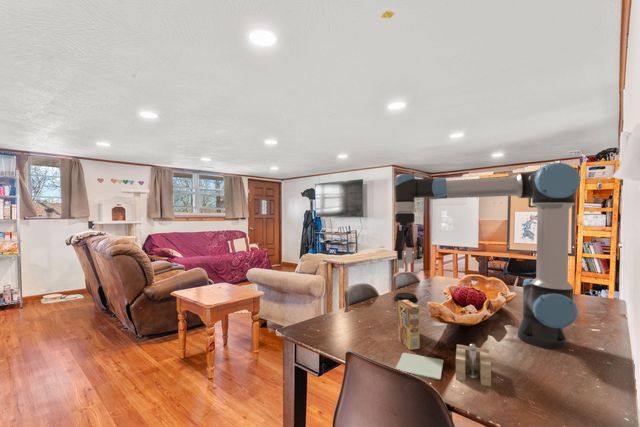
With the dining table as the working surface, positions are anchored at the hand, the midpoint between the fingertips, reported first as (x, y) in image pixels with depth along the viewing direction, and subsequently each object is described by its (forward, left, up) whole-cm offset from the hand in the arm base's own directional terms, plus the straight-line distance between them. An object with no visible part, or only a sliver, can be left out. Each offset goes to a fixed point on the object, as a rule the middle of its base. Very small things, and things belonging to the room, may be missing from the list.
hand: (404, 265), depth 127 cm
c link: (-24, +24, -27) cm, 44 cm away
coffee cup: (0, -1, -27) cm, 27 cm away
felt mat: (-9, +26, -27) cm, 39 cm away
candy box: (-3, +11, -27) cm, 30 cm away
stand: (-24, +26, -27) cm, 45 cm away
